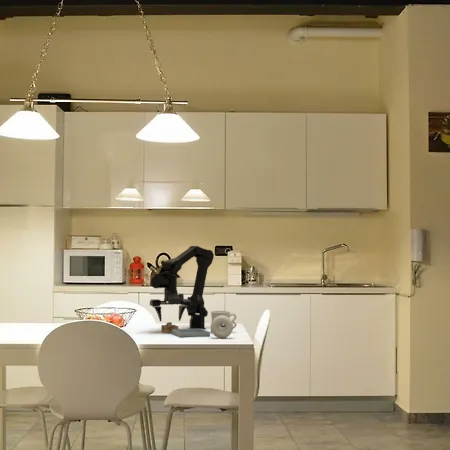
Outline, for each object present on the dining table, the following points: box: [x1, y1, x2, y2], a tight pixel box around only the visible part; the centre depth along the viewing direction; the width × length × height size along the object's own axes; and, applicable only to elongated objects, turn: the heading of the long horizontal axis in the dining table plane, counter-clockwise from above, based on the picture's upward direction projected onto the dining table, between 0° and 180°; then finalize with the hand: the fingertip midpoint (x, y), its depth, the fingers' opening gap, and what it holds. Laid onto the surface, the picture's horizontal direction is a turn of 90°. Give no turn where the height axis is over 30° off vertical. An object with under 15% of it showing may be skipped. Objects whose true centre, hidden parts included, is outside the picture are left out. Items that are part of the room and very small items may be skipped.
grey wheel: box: [210, 315, 234, 339], centre depth 294 cm, size 10×4×10 cm, turn 87°
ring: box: [160, 322, 179, 334], centre depth 313 cm, size 6×6×4 cm
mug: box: [210, 310, 237, 333], centre depth 314 cm, size 12×9×10 cm
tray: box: [170, 328, 211, 338], centre depth 303 cm, size 14×14×2 cm
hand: (170, 321), depth 313 cm, fingers open, 9 cm apart
